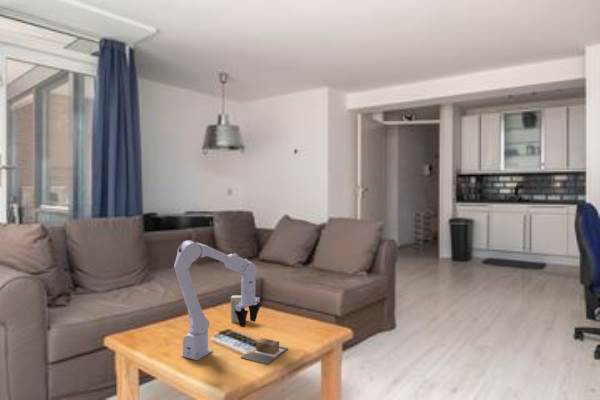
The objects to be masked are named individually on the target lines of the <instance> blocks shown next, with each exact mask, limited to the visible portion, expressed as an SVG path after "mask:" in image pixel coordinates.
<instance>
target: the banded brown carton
mask: <svg viewBox="0 0 600 400" xmlns="http://www.w3.org/2000/svg"><path fill="white" fill-rule="evenodd" d="M279 346H280V341H279V340H273V339H272V340H271V339H269V338H263V337H262V338H260V339H258V340H257V341H255V348H256V351H259V352H264V353H268V354H273V355H274V354H275V353H276V352H278V351H279Z"/></svg>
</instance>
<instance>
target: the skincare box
mask: <svg viewBox="0 0 600 400" xmlns="http://www.w3.org/2000/svg"><path fill="white" fill-rule="evenodd" d="M240 302H241V294H240V295H239V294H238V295H237V294H236V295H231V297H230V322H231V323H235V324H236V323H239V320H238V317H237V315H236V313H235V312H234V309H236V305H238V304H239V303H240ZM244 309H245V310H246V308H244Z"/></svg>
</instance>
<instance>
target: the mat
mask: <svg viewBox="0 0 600 400" xmlns="http://www.w3.org/2000/svg"><path fill="white" fill-rule="evenodd" d="M288 350H289V348H288V347H283V346H280V345H279V351H278V352H276V353H275V354H274V355H273V354H268V353H264V352H259V351H255V352H254V353H250V354H246V353H245V354H243V355H241V356H240V359H243V360H247V361H251V362H255V363H259V364H263V365H268V366H269V365H270V364H271V363H272V362H274V361H275V360H276V359H277V358H279V357H280V356H281V355H283V354H284V353H285V352H286V351H288Z"/></svg>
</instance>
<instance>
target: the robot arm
mask: <svg viewBox="0 0 600 400" xmlns="http://www.w3.org/2000/svg"><path fill="white" fill-rule="evenodd" d="M199 257H200V258H204V257H209V258H212V259H215V260H217V261H220V262H222V263H224V266H225V268H228V269H230V270H232V271H235V272H237V273H239V274H241V281H240V283H241V285H240V293H241V294H240V295H241V302H240V303H239V304H238V305H236V309H234V312H235V313H236V315H237V317H238V320H239V322H238V325H239V327H240V328H245V327H246V324H247V323H246V322H247V316H248V313H249V320H250V322H254V323H255V322H256V321H257V316H258V313H259V311H260V309H261V306H262V304H261V303H260V302H261V301H260V300H261V298H260V297H256V276H257V274H258V272H259V269H258V266H257V265H256V264H255V263H254V262H252V261H249V259H248V258H242V257H240V256H239V254H237V253H229V254H225V253H223V252H221V251H219V250H217V249H214V248H213V247H211V246H208V245H206V244H203V243H201V242H197V241H196V242H194V241H193V240H191V239H188V240H184V241H182V243H181V244H180V245H179V246H178V248H177V253H176V258H175V261H174V265H173V268H174V271H175V274H176V275H175V276H176V278H177V281H178V283H179V286H180V290H181V292H182V295H183V299H184V302H185V304H186V308H187V313H188V324H190V328H189V329H188V333H187V334H186V335H185V337H184V338H183V339H182V354H181V357H183V358H186V359H187V358H188V359H190V360H194V361H199V360H200V359H202V358H204V357H205V356H207V355H209V354H211V353H212V352H213V349H209V328H210V321H209V319H208V318H207V317H206V316H205V314H204V311H203V309H202V307H201V304H200V301H199V299H198V295H197V292H196V289H195V286H194V282H193V280H192V277H191V273H190V270H189V269H190V267H191V265H192V264H193V262H195V261H196V260H198V259H199ZM244 308H245V309H244ZM246 308H248V310H246Z"/></svg>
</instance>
